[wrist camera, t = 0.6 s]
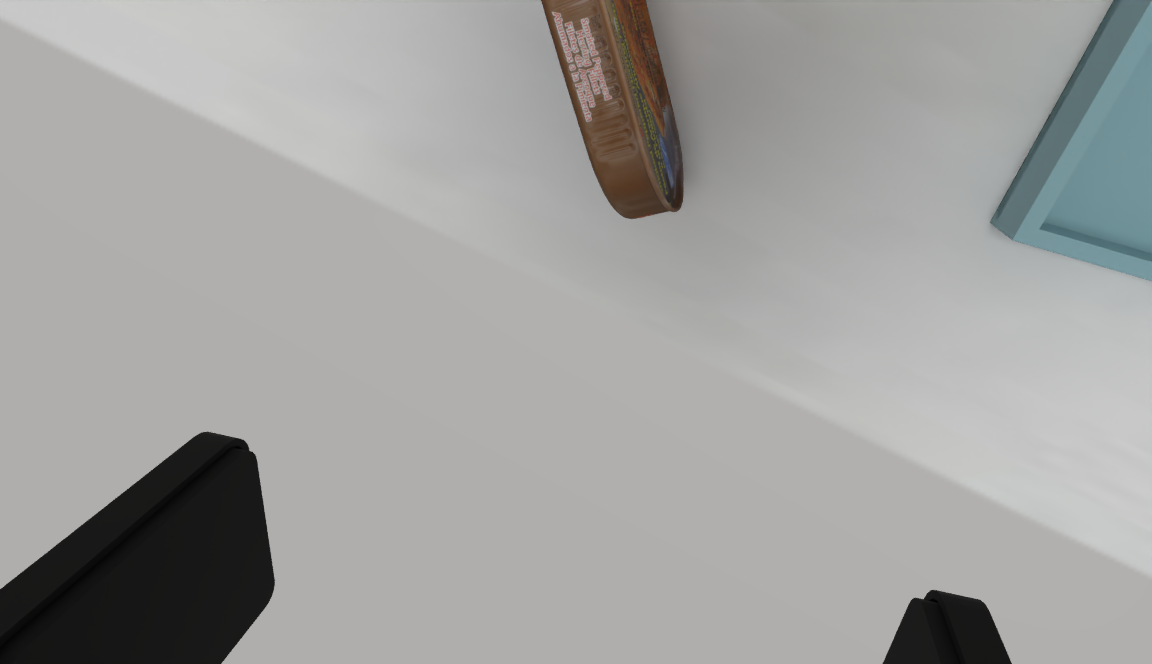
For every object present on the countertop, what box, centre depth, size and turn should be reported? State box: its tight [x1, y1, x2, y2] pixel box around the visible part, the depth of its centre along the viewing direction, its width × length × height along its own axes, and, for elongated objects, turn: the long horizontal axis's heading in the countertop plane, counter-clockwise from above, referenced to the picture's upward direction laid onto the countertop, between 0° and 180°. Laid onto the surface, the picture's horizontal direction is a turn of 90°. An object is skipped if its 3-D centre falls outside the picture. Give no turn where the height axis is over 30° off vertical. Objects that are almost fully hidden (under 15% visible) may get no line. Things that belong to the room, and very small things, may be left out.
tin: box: [541, 0, 683, 219], centre depth 30 cm, size 15×3×8 cm, turn 17°
